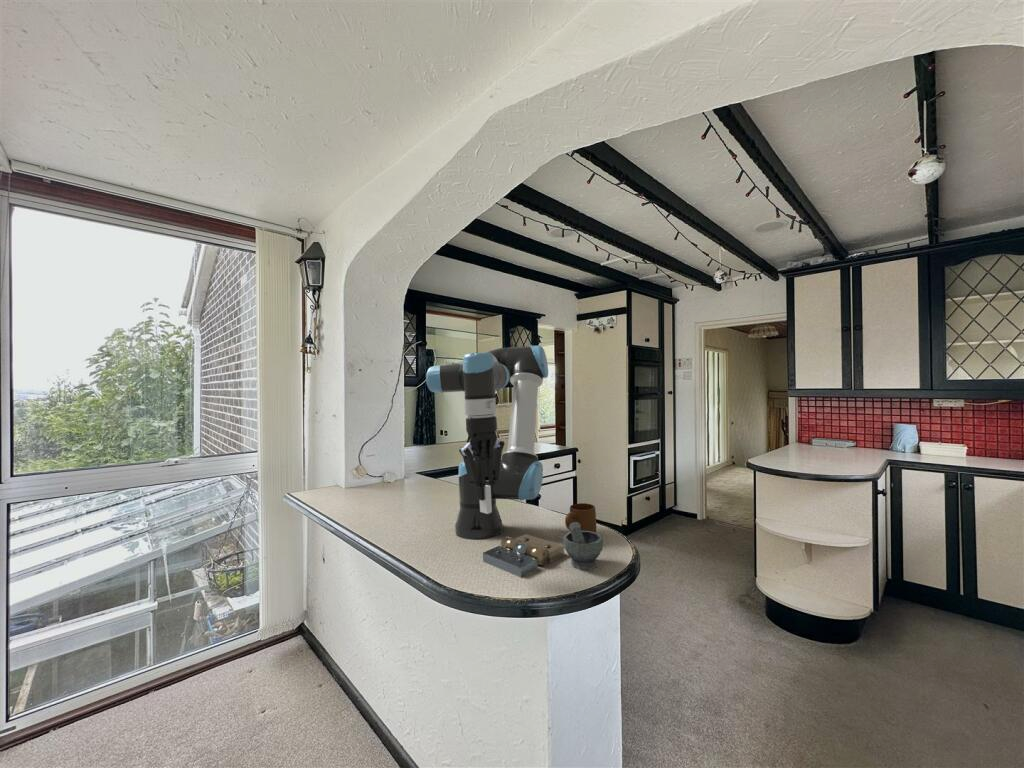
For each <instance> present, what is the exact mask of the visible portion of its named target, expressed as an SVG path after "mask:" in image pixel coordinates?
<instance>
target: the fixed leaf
mask: <svg viewBox="0 0 1024 768" xmlns="http://www.w3.org/2000/svg"><path fill="white" fill-rule="evenodd" d="M517 542H521V543H524V544H527V545H530V546H529V547H528V549H527V551H526V555H527V556H530V557H533V558H535V559H537V560H538V566H546V565H547V564H548V563H552V562H554V561H556V560H557V559H560V558H562V557H563V556H565V548H564V544H563V545H561V544H559V543H555V542H553V541H549V540H547V539H546V540H545V539H543V538H540V537H537V536H533V535H531V534H523V535H520V536H518V537H516V538H513V537H510V536H505V537H504V538H502V540H501V543H500V546H502V547H505V548H508V549H510V550H513V547H514V545H515V544H516V543H517Z"/></svg>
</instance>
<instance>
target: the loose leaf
mask: <svg viewBox="0 0 1024 768" xmlns="http://www.w3.org/2000/svg"><path fill="white" fill-rule="evenodd" d="M529 546H530V545H527V544H524V543H521V542H517V543H516V544H515V545H514V547H513V550H510V549H508V548H505V547H502V546H501V545H497V546H495V547H493V548H491V549H488V550H485V551H483V552H482V562H483V563H485V564H488V565H490V566H492V567H495V568H497V569H500V570H502V571H504V572H507V573H510V574H512V575H514V576H516V577H519V578H523V577H526V576H527V575H529V574H531V573H533V572H535V571H537V570H539V564H538V560H537V559H535V558H533V557H530V556H527V555H526V551H527V549H528V547H529Z"/></svg>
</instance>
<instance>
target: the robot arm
mask: <svg viewBox="0 0 1024 768" xmlns="http://www.w3.org/2000/svg"><path fill="white" fill-rule="evenodd" d="M548 365H549V364H548V360H547V355H546V352H545V349H544V348H543V346H541V345H531V344H530V345H527V346H524V345H523V346H513V347H512V346H510V347H509V346H508V347H501V348H496V349H493V350H489V351H486V352H470V353H465V354H464V356H463V358H462V361H457V362H454V363H450V364H446V365H445V364H443V365H441V364H438V365H434V366H433V365H432V366H430V367H429V368H428V369H427V372H426V374H425V378H426V379H425V380H426V385H427V389H428V390H429V392H432V393H441V394H443V393H455V392H456V393H457V392H464V411H465V412H464V414H465V416H467V417H466V419H465V430H466V431H465V432H466V433H467V439H466V444H465V445H464V446H463V447H459V448H458V451H459V454H460V455H461V456H462V459H463V461H461V462H460V463H459V465H458V475H457V477H458V492H459V494H458V495H459V510H458V513H457V519H456V523H455V524H454V526H455V527H454V531H455V532H454V533H455V534H456V536H458V537H460V538H464V539H470V540H471V539H472V540H474V539H477V540H478V539H486V538H491V537H494V536H496V535H498V534H500V533H501V532H503V529H504V528H503V520H502V519H501V515H500V512H499V510H498V507H497V500H518V501H524V500H525V501H527V500H531V501H532V500H535V499H536V498H537V497H538V496H539V494H540V491H541V489H542V483H543V480H544V479H543V477H544V474H543V473H544V472H543V471H544V467H543V464H542V462H541V461H539V457H538V455H537V454H536V453H535V440H536V423H537V407H538V395H539V394H538V393H539V392H538V390H539V388H540V386H542V385H543V381H544V379H546V378H548V376H549V367H548ZM509 382H510V383H511V385H512V386H513V387H512V398H511V407H510V408H511V409H510V421H509V430H508V442H507V449H506V450H505V451H504V452H503V449H504V447H505V441H504V440H500V439H498V436H497V434H496V432H497V430H498V422H497V417H496V416H495V415H496V413H497V405H496V404H497V403H496V391H499V390H501V389H503V388H505V387H506V386H507V385H508V383H509Z"/></svg>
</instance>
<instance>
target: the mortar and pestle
mask: <svg viewBox="0 0 1024 768" xmlns="http://www.w3.org/2000/svg"><path fill="white" fill-rule="evenodd" d="M569 528H570V530H569V532H567V533H566V534H564V535H563V537H562V541H563V546H564V551H565V552H566V553H567V555H568V557H569V559H571V562H570V563H571V564H570V565H571V566H572V567H573V568H574V569H577V570H579V571H580V570H583V571H590V570H592V569H595V568H596V567H597V564H598V563H597V561H596V560H597V558H599V556H600V555H601V552H602V551H603V545H604V539H603V538H604V537H602V535H601V534H600V533H598V532H597V533H595V532H591V531H581V526H580V524H579V523H578V522H573V523H571V524H570V526H569Z"/></svg>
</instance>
